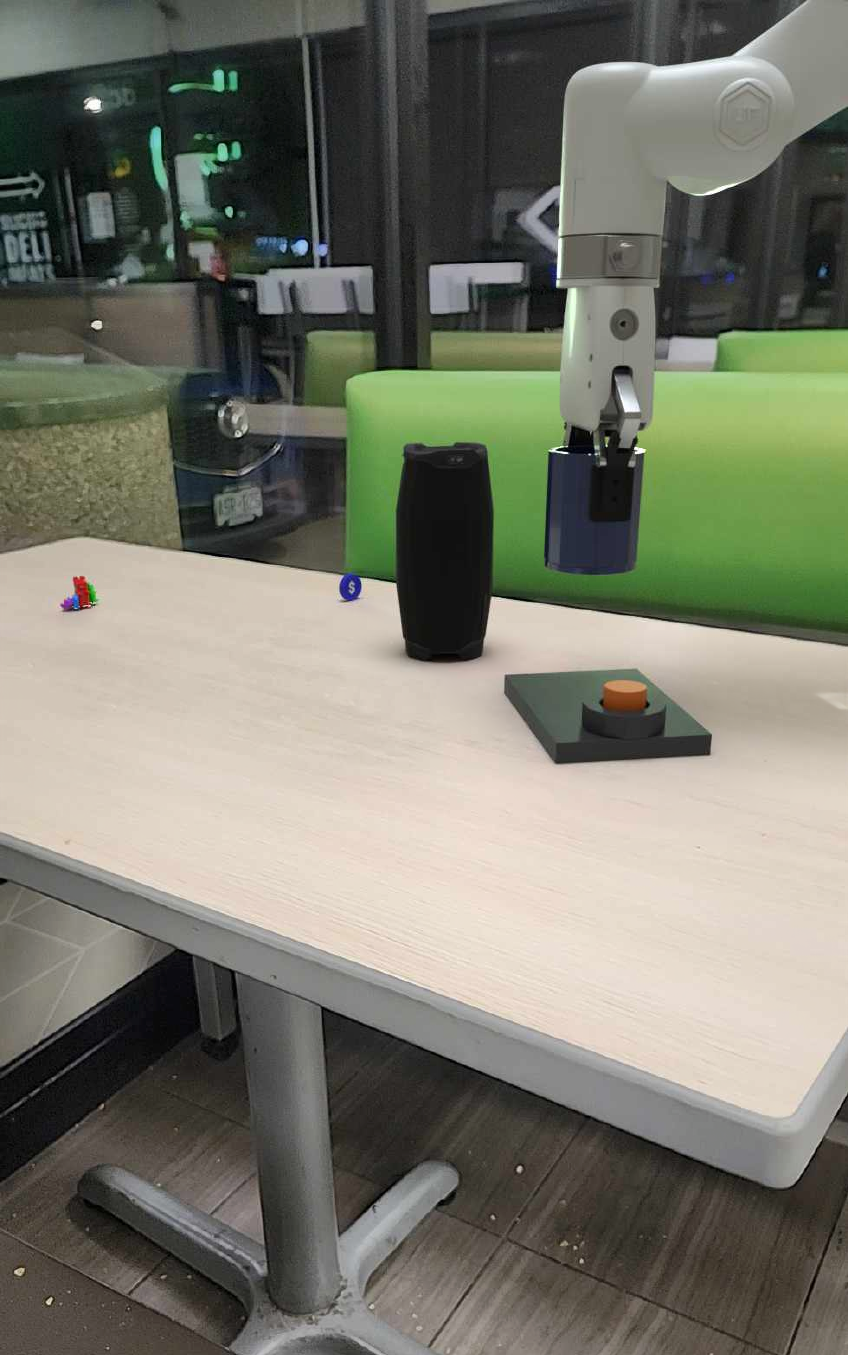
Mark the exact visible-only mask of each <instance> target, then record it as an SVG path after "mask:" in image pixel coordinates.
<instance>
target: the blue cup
mask: <svg viewBox="0 0 848 1355" xmlns="http://www.w3.org/2000/svg"><path fill="white" fill-rule="evenodd" d="M646 451H647V450H646V449H643V448H639V447H635V454H636V462H635V466H634V476H633V490H632V504H631V517H630V519H629V520H628V521H626V522H592V521H590V520H589V518H588V509H589V492H590V475H591V467H596V460H595V449H594V445H578V446H563V445H562V446H555V447H551V448H549V449H548V454H547V477H546V501H545V502H546V503H545V522H544V523H545V524H544V525H545V526H544V545H543V546H544V548H543V558H544V567H545V568H546V569H548V570H550V571H554V572H558V573H562V574H567V575H568V574H569V575H580V576H612V575H620V574H626V573H630V572H633V571H635V570H636V569H637V566H638V565H637V564H638V560H639V559H638V558H639V557H638V556H639V545H640V532H641V519H642V518H641V517H642V516H641V515H642V503H643V490H644V479H645V478H644V477H645V466H646V465H645V463H646Z"/></svg>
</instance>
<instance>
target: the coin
mask: <svg viewBox="0 0 848 1355" xmlns="http://www.w3.org/2000/svg"><path fill="white" fill-rule="evenodd" d="M338 586H339V587H338V589H339V590H338V591H339V594H340V596H341V598H342V599H344V600H346V601H354V600H353V599H355V600H356V599H358V598H359V596H360V594H361V592H362V589H363V588H362V586H363V585H362V580H361V578H360V577H359V575H357V574H355V573H354V574H353V573H346V574H345V575H343V576H342V578H341V579H340V582H339V585H338Z"/></svg>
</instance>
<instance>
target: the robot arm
mask: <svg viewBox="0 0 848 1355" xmlns="http://www.w3.org/2000/svg"><path fill="white" fill-rule="evenodd" d="M846 108H848V0H806V1H804V2H803V3H802V4H800V5H799V6H798V7H797V8H796V9H794V10H793V11H791V12H790V13H788V14H787V15H786V16H785V17H784V18H782V19H781V20H779V21H778V22H777V23H775V24H774V25H773V26H772V27H770V28H769V29H767V30H766V31H765V32H763V33H762V34H760V35H759V36H758V37H756V38H755V39H753V40H752V41H751V42H749V43H747V45H745V46H744V47H742V48H741V49H739V50H738V51H737V52H735V53H734V54H732V55H731V56H724V57H718V58H717V57H716V58H711V59H706V60H701V61H696V62H695V61H694V62H687V63H679V64H671V65H662V66H661V65H660V66H658V65H655V64H652V63H646V62H639V61H638V62H637V61H616V62H615V61H614V62H603V63H597V64H596V63H595V64H592V65H589V66H588V65H587V66H586V67H583V68H581V69H579V70H577V71H576V72H575V73H574V74H573V75H572V76H571V77H570V79H569V81H568V83H567V85H566V89H565V93H564V102H563V117H562V118H563V120H562V122H563V123H562V143H561V165H560V166H561V167H560V188H559V210H558V211H559V213H558V224H559V226H558V234H557V235H558V239H557V261H556V262H557V263H556V282H555V284H556V285H555V287H556V288H557V289H567V294H566V301H565V310H564V311H565V312H564V316H563V320H564V321H563V332H562V343H561V357H560V374H559V415H560V417H561V419H562V420H563V421H564V425H563V430H564V431H565V432H564V437H563V441H562V446H578V445H594V449H595V460H596V467H591V475H590V492H589V509H588V518H589V520H590V521H592V522H626V521H628V520H629V519H630V517H631V504H632V490H633V476H634V466H635V462H636V454H635V448H636V446H637V445H638V442H639V438H638V435H637V434H638V431H640V432H641V431H646V430H647V429H648V428H649V427H650V426H651V425H652V422H653V414H654V394H655V393H654V392H655V391H654V390H655V365H656V363H655V362H656V306H655V305H656V304H655V291H654V289H655V288H656V289H657V288H659V287H660V274H661V260H662V247H663V236H664V224H665V213H666V212H665V210H666V208H665V207H666V198H667V186H668V182H669V183H670V185H671V186H673V187H674V188H675V189H677V190H679V191H681V192H682V193H685V194H688V195H693V196H708V195H713V194H716V193H719V192H722V191H724V190H726V189H728V188H732V187H734V186H736V185H739V184H742V183H744V182H747V181H749V180H751V179H753V178H755V177H756V176H758V175H759V174H761V173H762V172H764V171H765V170H766V169H767V168H769V167H770V166H771V165H772V164H773V163H774V162H775V161H776V160H777V158H778V157H779V156H780V155H781V153H782V152H783V150H784V148H785V147H786V146H787V145H789V144H790V143H791V142H793V141H794V140H797V139H798V138H799V137H801V136H802V135H803V134H805V133H807V132H809V131H810V130H811V129H813V128H815V127H816V126H817V125H819V124H821V123H823V122H824V121H826V120H828V119H829V118H831V117H832V116H834V115H836V114H838V113H839V112H841V111H842V110H844V109H846ZM606 438H608V441H607V443H606Z"/></svg>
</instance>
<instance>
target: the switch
mask: <svg viewBox="0 0 848 1355" xmlns="http://www.w3.org/2000/svg"><path fill="white" fill-rule="evenodd" d="M646 696H647V686H646V685H645V684H643V683H640V682H636V681H630V680H616V681H610V682H607V683H606V684H605V685H604V696H603V707H605V708H608V709H611V710H617V711H639V710H643V709H645V708H646Z"/></svg>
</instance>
